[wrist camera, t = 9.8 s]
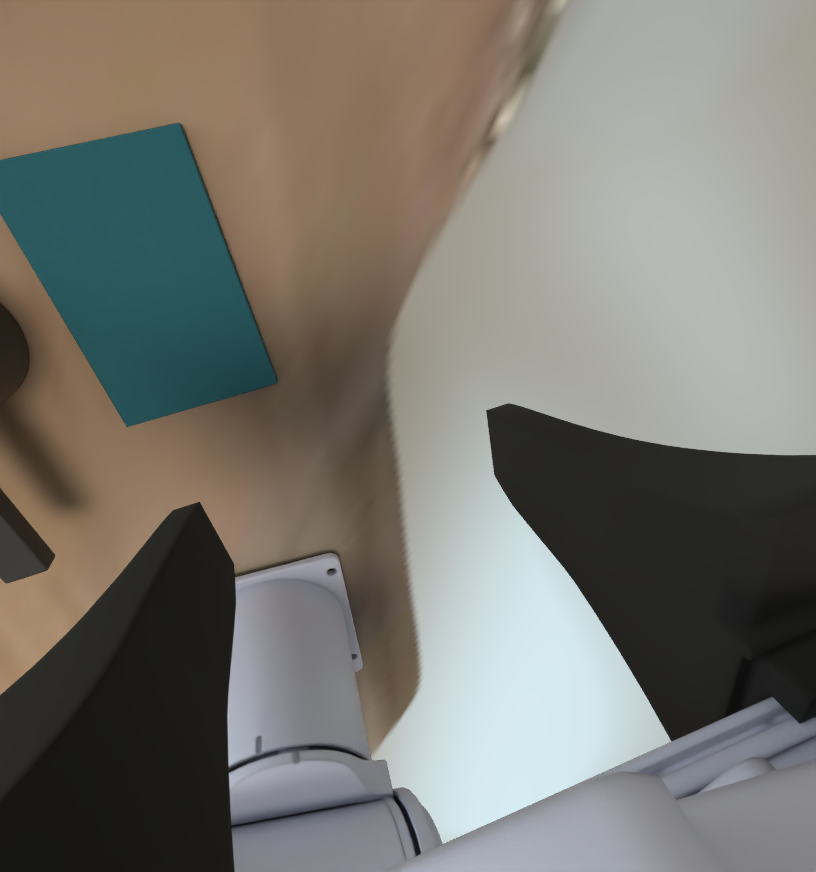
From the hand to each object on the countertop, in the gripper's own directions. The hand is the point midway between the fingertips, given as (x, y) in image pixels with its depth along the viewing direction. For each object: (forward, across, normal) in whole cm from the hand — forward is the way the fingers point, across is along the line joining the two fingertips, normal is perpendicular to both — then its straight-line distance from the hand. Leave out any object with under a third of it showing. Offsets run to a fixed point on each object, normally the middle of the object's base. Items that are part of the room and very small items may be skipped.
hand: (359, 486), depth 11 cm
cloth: (+9, +5, -4) cm, 11 cm away
